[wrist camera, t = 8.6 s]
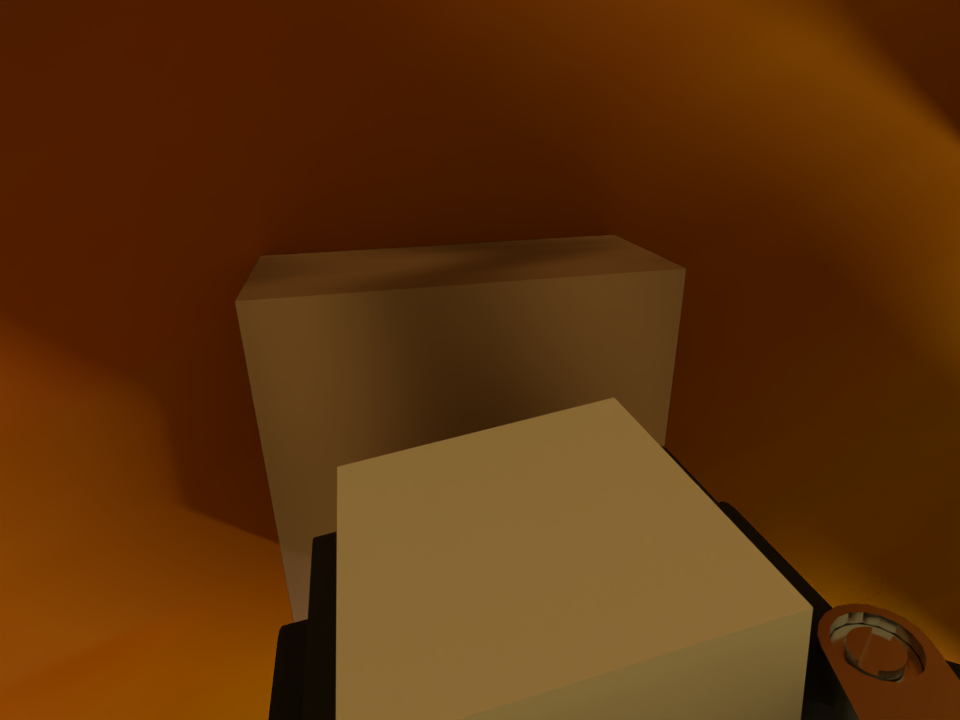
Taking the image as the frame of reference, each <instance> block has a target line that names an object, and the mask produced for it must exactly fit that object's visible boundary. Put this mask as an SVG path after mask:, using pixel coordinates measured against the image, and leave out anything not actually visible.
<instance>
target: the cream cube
mask: <svg viewBox="0 0 960 720" xmlns="http://www.w3.org/2000/svg"><path fill="white" fill-rule="evenodd" d="M812 613H813V607H812V606H811V605H810V604H809V603H808V601H807V600H806V599H805V598H804V597H803V596H802V595H801V594H800V593H799V592H798V591H797V590H796V589H795V588H794V587H793V586H792V585H791V584H790V582H789V581H788V580H787V579H786V578H785V577H784V576H783V575H782V574H781V573H780V572H779V571H778V570H777V569H776V568H775V567H774V566H773V564H772V563H771V562H770V561H769V560H768V559H767V558H766V557H765V556H764V555H763V554H762V553H761V552H760V551H759V550H758V549H757V548H756V547H755V545H754V544H753V543H752V542H751V541H750V540H749V539H748V538H747V537H746V536H745V535H744V534H743V533H742V532H741V531H740V530H739V529H738V528H737V526H736V525H735V524H734V523H733V522H732V521H731V520H730V519H729V518H728V517H727V516H726V515H725V514H724V513H723V512H722V511H721V510H720V508H719V507H718V506H717V505H716V504H715V503H714V502H713V501H712V500H711V499H710V498H709V497H708V496H707V495H706V494H705V493H704V492H703V491H702V489H701V488H700V487H699V486H698V485H697V484H696V483H695V482H694V481H693V480H692V479H691V478H690V477H689V476H688V475H687V474H686V473H685V472H684V470H683V469H682V468H681V467H680V466H679V465H678V464H677V463H676V462H675V461H674V460H673V459H672V458H671V457H670V456H669V455H668V454H667V453H666V451H665V450H664V449H663V448H662V447H661V446H660V445H659V444H658V443H657V442H656V441H655V440H654V439H653V438H652V437H651V436H650V435H649V433H648V432H647V431H646V430H645V429H644V428H643V427H642V426H641V425H640V424H639V423H638V422H637V421H636V420H635V419H634V418H633V417H632V416H631V414H630V413H629V412H628V411H627V410H626V409H625V408H624V407H623V406H622V405H621V404H620V403H619V402H618V401H617V400H616V399H615V398H610V399H606V400H602V401H598V402H594V403H590V404H586V405H582V406H578V407H574V408H570V409H566V410H562V411H558V412H554V413H550V414H546V415H542V416H538V417H534V418H530V419H526V420H522V421H518V422H514V423H510V424H506V425H502V426H498V427H494V428H490V429H486V430H482V431H478V432H474V433H470V434H466V435H462V436H458V437H454V438H450V439H446V440H442V441H438V442H434V443H430V444H426V445H422V446H418V447H414V448H410V449H406V450H402V451H398V452H394V453H390V454H386V455H382V456H378V457H374V458H370V459H366V460H362V461H358V462H354V463H350V464H346V465H342V466H338V467H337V595H336V720H801V712H802V703H803V694H804V685H805V676H806V667H807V658H808V649H809V640H810V631H811V622H812Z"/></svg>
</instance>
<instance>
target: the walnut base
mask: <svg viewBox="0 0 960 720" xmlns="http://www.w3.org/2000/svg"><path fill="white" fill-rule="evenodd" d="M685 277H686V268H684V267H682V266H680V265H678V264H676V263H674V262H672V261H669V260H667V259H665V258H663V257H661V256H659V255H657V254H655V253H652V252H650V251H648V250H646V249H644V248H642V247H640V246H638V245H635V244H633V243H631V242H629V241H627V240H625V239H623V238H620V237H618V236H616V235H600V236H584V237H567V238H550V239H533V240H517V241H500V242H483V243H467V244H450V245H433V246H417V247H400V248H383V249H367V250H350V251H333V252H316V253H300V254H283V255H266V256H260V257H259V259H258V261H257V262H256V264H255V266H254V268H253V270H252V271H251V273H250V275H249V277H248V279H247V280H246V282H245V284H244V286H243V287H242V289H241V291H240V293H239V295H238V296H237V298H236V300H235V305H236V311H237V316H238V321H239V327H240V332H241V338H242V343H243V349H244V354H245V359H246V365H247V370H248V376H249V381H250V386H251V392H252V397H253V403H254V408H255V414H256V419H257V424H258V430H259V435H260V441H261V446H262V452H263V457H264V462H265V468H266V473H267V479H268V484H269V490H270V495H271V500H272V506H273V511H274V517H275V522H276V527H277V533H278V538H279V544H280V549H281V555H282V560H283V565H284V571H285V576H286V582H287V587H288V593H289V598H290V603H291V609H292V614H293V620H294V623H295V622H298V621H302V620H305V619H308V606H309V590H310V573H311V557H312V542H313V538H314V537H317V536H321V535H325V534H329V533H332V532H336V531H337V467H338V466H342V465H346V464H350V463H354V462H358V461H362V460H366V459H370V458H374V457H378V456H382V455H386V454H390V453H394V452H398V451H402V450H406V449H410V448H414V447H418V446H422V445H426V444H430V443H434V442H438V441H442V440H446V439H450V438H454V437H458V436H462V435H466V434H470V433H474V432H478V431H482V430H486V429H490V428H494V427H498V426H502V425H506V424H510V423H514V422H518V421H522V420H526V419H530V418H534V417H538V416H542V415H546V414H550V413H554V412H558V411H562V410H566V409H570V408H574V407H578V406H582V405H586V404H590V403H594V402H598V401H602V400H606V399H610V398H615V399H616V400H617V401H618V402H619V403H620V404H621V405H622V406H623V407H624V408H625V409H626V410H627V411H628V412H629V413H630V414H631V416H632V417H633V418H634V419H635V420H636V421H637V422H638V423H639V424H640V425H641V426H642V427H643V428H644V429H645V430H646V431H647V432H648V433H649V435H650V436H651V437H652V438H653V439H654V440H655V441H656V442H657V443H658V444H659V445H660V446H665V438H666V430H667V422H668V413H669V405H670V397H671V389H672V381H673V373H674V365H675V357H676V349H677V341H678V333H679V325H680V317H681V309H682V301H683V293H684V285H685Z"/></svg>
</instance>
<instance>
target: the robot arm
mask: <svg viewBox="0 0 960 720" xmlns="http://www.w3.org/2000/svg"><path fill="white" fill-rule="evenodd" d="M661 447H662V448H663V449H664V450H665V451H666V453H667V454H668V455H669V456H670V457H671V458H672V459H673V460H674V461H675V462H676V463H677V464H678V465H679V466H680V467H681V468H682V469H683V470H684V472H685V473H686V474H687V475H688V476H689V477H690V478H691V479H692V480H693V481H694V482H695V483H696V484H697V485H698V486H699V487H700V488H701V489H702V491H703V492H704V493H705V494H706V495H707V496H708V497H709V498H710V499H711V500H712V501H713V502H714V503H715V504H716V505H717V506H718V507H719V508H720V510H721V511H722V512H723V513H724V514H725V515H726V516H727V517H728V518H729V519H730V520H731V521H732V522H733V523H734V524H735V525H736V526H737V528H738V529H739V530H740V531H741V532H742V533H743V534H744V535H745V536H746V537H747V538H748V539H749V540H750V541H751V542H752V543H753V544H754V545H755V547H756V548H757V549H758V550H759V551H760V552H761V553H762V554H763V555H764V556H765V557H766V558H767V559H768V560H769V561H770V562H771V563H772V564H773V566H774V567H775V568H776V569H777V570H778V571H779V572H780V573H781V574H782V575H783V576H784V577H785V578H786V579H787V580H788V581H789V582H790V584H791V585H792V586H793V587H794V588H795V589H796V590H797V591H798V592H799V593H800V594H801V595H802V596H803V597H804V598H805V599H806V600H807V601H808V603H809V604H810V605H811V606H812V607H813V613H812V622H811V631H810V640H809V649H808V658H807V667H806V676H805V685H804V694H803V703H802V712H801V720H960V665H959V664H956V663H953V662H950V661H946V660H945V659H944V658H943V657H942V655H941V654H940V653H939V651H938V650H937V648H936V647H935V646H934V644H933V643H932V642H931V641H930V639H929V638H928V637H927V636H926V635H925V634H924V633H923V632H922V631H921V630H920V629H919V628H918V627H916V626H915V625H913V624H912V623H911V622H909V621H908V620H906V619H905V618H903V617H901V616H899V615H897V614H895V613H892V612H890V611H888V610H886V609H882V608H878V607H874V606H871V605H863V604H847V605H842V606H837V607H835V608H832V607H831V606H830V605H829V604H828V603H827V602H826V601H825V600H824V599H823V598H822V597H821V596H820V595H819V594H818V593H817V592H816V591H815V590H814V589H813V588H812V587H811V586H810V585H809V584H808V583H807V582H806V581H805V579H804V578H803V577H802V576H801V575H800V574H799V573H798V572H797V571H796V570H795V569H794V568H793V567H792V566H791V565H790V564H789V563H788V562H787V561H786V560H785V559H784V558H783V557H782V556H781V555H780V554H779V553H778V552H777V551H776V550H775V549H774V548H773V547H772V546H771V545H770V544H769V543H768V542H767V541H766V540H765V539H764V538H763V537H762V536H761V535H760V534H759V533H758V532H757V531H756V530H755V529H754V528H753V527H752V526H751V525H750V523H749V522H748V521H747V520H746V519H745V518H744V517H743V516H742V515H741V514H740V513H739V512H738V511H737V510H736V509H735V508H733V507H732V506H731V505H730V504H729V503H726V502H720V503H718V502H717V501H716V500H715V499H714V498H713V497H712V496H711V495H710V494H709V493H708V492H707V491H706V490H705V489H704V488H703V487H702V486H701V485H700V483H699V482H698V481H697V480H696V479H695V478H694V477H693V476H692V475H691V474H690V473H689V472H688V471H687V470H686V469H685V468H684V467H683V466H682V465H681V464H680V462H679V461H678V460H677V459H676V458H675V457H674V456H673V455H672V454H671V453H670V452H669V451H668V450H667V449H666V448H665V447H664V446H661ZM336 595H337V531H336V532H332V533H329V534H325V535H321V536H317V537H314V538H313V542H312V557H311V573H310V590H309V606H308V619H305V620H302V621H298V622H295V623H291V624H288V625H284V626H282V627H281V629H280V631H279V636H278V642H277V651H276V659H275V668H274V677H273V685H272V694H271V703H270V711H269V720H336Z"/></svg>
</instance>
